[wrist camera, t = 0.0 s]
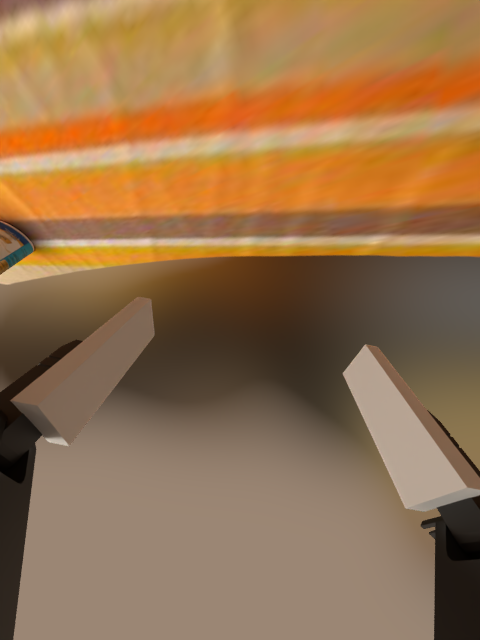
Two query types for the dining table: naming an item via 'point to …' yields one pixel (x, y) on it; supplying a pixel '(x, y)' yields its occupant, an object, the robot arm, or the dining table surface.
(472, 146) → the dining table surface
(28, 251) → the beverage bottle
